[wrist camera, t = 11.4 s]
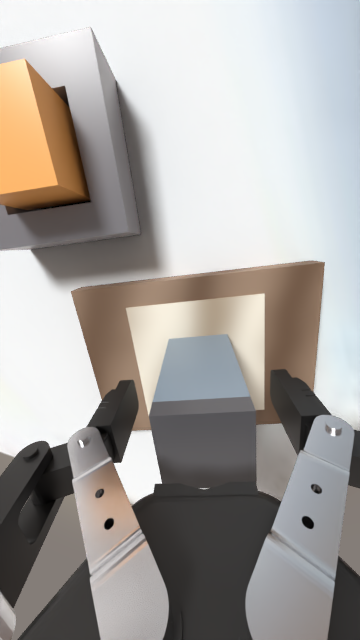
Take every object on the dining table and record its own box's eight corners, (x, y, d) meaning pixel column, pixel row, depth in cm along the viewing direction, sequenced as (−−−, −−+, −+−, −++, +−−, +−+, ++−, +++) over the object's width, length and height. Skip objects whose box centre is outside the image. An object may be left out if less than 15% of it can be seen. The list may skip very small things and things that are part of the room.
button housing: (115, 78, 12) (90, 27, 9) (141, 234, 15) (128, 232, 12) (-18, 105, 13) (-79, 66, 10) (29, 249, 15) (-8, 250, 12)
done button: (73, 112, 11) (24, 58, 8) (93, 199, 12) (58, 184, 9) (1, 126, 11) (-74, 80, 8) (27, 210, 13) (-28, 199, 10)
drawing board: (311, 260, 14) (325, 262, 13) (301, 408, 18) (311, 422, 17) (81, 287, 16) (70, 291, 14) (116, 418, 20) (110, 432, 18)
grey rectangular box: (227, 333, 15) (255, 410, 8) (229, 384, 16) (256, 486, 9) (168, 338, 15) (148, 416, 8) (176, 387, 16) (163, 488, 10)
